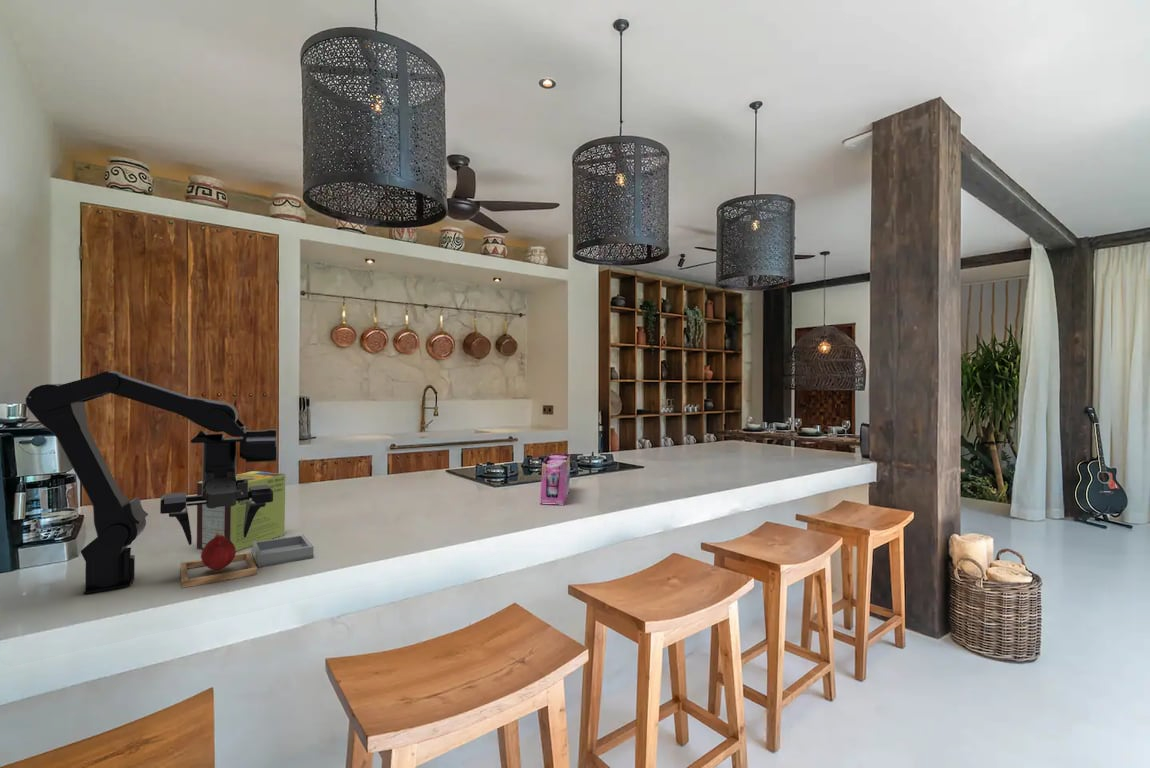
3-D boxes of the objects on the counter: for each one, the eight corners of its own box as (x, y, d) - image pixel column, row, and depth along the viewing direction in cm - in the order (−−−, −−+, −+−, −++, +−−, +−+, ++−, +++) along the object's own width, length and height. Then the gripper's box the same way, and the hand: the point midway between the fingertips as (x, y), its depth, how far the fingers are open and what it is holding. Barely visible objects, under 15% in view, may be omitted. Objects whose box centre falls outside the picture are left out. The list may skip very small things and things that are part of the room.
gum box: (564, 507, 167) (564, 464, 167) (539, 506, 168) (540, 463, 168) (569, 491, 191) (570, 453, 191) (548, 490, 192) (548, 453, 191)
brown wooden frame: (181, 588, 99) (181, 581, 99) (180, 568, 108) (180, 562, 108) (257, 574, 106) (257, 568, 106) (249, 557, 116) (249, 551, 116)
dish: (257, 567, 110) (257, 555, 110) (251, 553, 118) (251, 542, 118) (313, 557, 116) (313, 546, 116) (303, 545, 125) (303, 534, 125)
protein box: (285, 534, 133) (286, 473, 132) (229, 554, 118) (230, 485, 118) (253, 530, 136) (254, 470, 135) (194, 548, 121) (195, 481, 121)
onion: (241, 566, 110) (242, 528, 110) (224, 577, 104) (224, 536, 104) (213, 566, 110) (213, 528, 110) (194, 576, 104) (194, 536, 104)
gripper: (160, 474, 95) (159, 560, 95) (278, 466, 106) (276, 543, 106) (161, 465, 104) (159, 544, 104) (269, 458, 115) (268, 529, 115)
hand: (218, 540), depth 107 cm, fingers open, 9 cm apart
